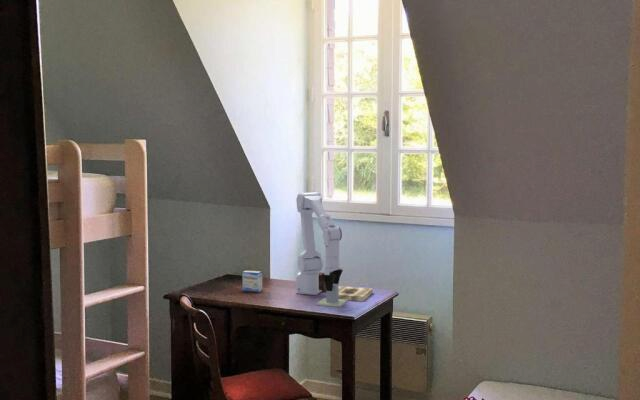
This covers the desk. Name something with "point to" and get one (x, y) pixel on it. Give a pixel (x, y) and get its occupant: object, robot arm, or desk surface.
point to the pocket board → (354, 293)
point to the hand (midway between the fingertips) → (332, 288)
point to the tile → (337, 304)
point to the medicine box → (252, 281)
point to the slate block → (333, 294)
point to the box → (321, 282)
